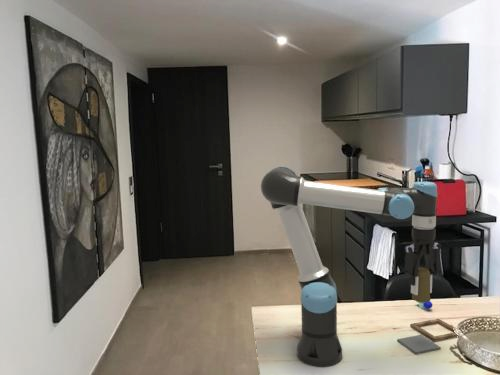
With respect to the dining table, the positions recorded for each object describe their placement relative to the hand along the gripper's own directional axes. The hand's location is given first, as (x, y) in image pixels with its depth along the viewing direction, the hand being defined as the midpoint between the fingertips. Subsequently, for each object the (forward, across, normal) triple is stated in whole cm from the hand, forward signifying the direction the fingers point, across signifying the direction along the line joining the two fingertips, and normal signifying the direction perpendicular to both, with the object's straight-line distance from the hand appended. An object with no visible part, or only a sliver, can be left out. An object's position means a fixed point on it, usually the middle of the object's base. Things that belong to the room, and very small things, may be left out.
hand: (421, 292), depth 153 cm
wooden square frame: (+18, +11, +4) cm, 22 cm away
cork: (+2, 0, 0) cm, 2 cm away
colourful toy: (+18, +22, +24) cm, 37 cm away
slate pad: (+18, -2, -2) cm, 18 cm away
